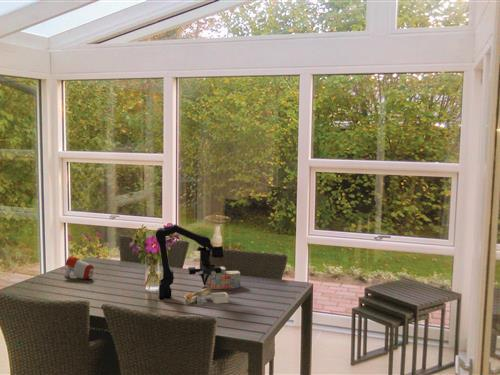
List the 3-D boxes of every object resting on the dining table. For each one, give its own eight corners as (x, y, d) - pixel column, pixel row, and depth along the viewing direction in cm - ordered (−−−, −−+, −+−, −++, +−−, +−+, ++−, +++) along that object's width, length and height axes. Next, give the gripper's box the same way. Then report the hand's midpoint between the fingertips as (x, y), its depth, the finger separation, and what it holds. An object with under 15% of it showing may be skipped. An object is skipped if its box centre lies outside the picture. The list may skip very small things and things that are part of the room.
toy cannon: (87, 287, 322) (91, 266, 320) (61, 276, 329) (65, 255, 326) (93, 284, 328) (97, 264, 325) (68, 273, 334) (72, 253, 331)
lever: (187, 304, 282) (185, 299, 282) (183, 296, 295) (181, 291, 294) (211, 294, 285) (210, 289, 285) (206, 287, 298) (205, 282, 298)
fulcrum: (195, 305, 282) (195, 297, 281) (192, 299, 291) (192, 292, 290) (204, 304, 283) (204, 296, 283) (200, 299, 292) (201, 291, 291)
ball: (187, 301, 283) (185, 295, 283) (186, 299, 287) (184, 293, 286) (193, 298, 284) (191, 293, 284) (192, 296, 288) (190, 291, 287)
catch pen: (214, 303, 285) (214, 297, 285) (211, 298, 293) (211, 293, 293) (229, 302, 287) (229, 296, 287) (225, 297, 296) (225, 292, 295)
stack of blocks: (238, 285, 321) (238, 265, 320) (240, 288, 315) (240, 268, 314) (203, 286, 316) (204, 267, 315) (205, 289, 310) (205, 269, 309)
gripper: (191, 262, 284) (190, 289, 286) (224, 260, 290) (223, 288, 291) (187, 257, 295) (187, 284, 297) (219, 256, 300) (219, 282, 302)
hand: (204, 284), depth 296 cm, fingers closed
